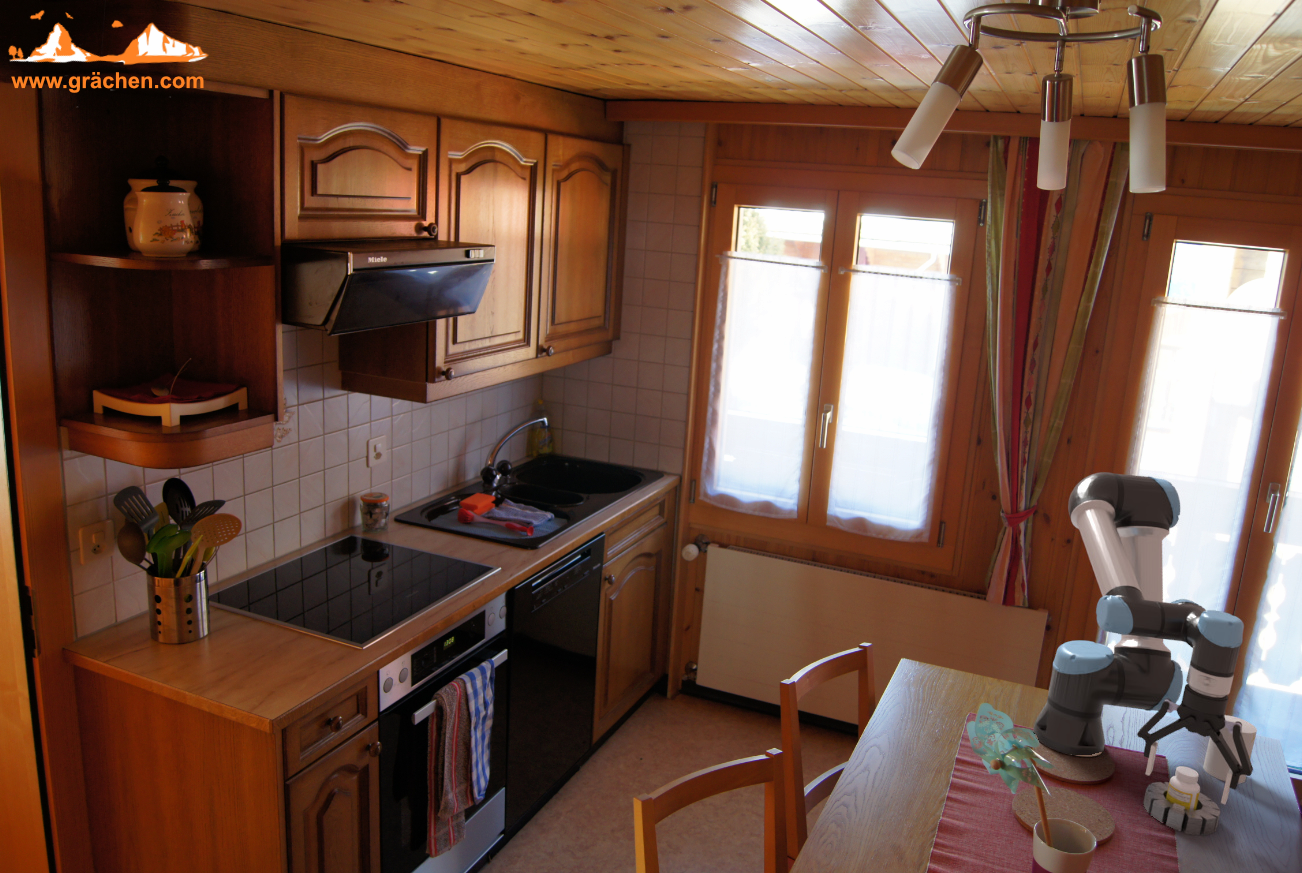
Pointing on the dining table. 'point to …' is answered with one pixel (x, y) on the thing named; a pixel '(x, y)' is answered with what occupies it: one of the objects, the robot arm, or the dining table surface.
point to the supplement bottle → (1184, 788)
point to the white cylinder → (1214, 758)
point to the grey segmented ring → (1181, 811)
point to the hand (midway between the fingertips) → (1185, 786)
